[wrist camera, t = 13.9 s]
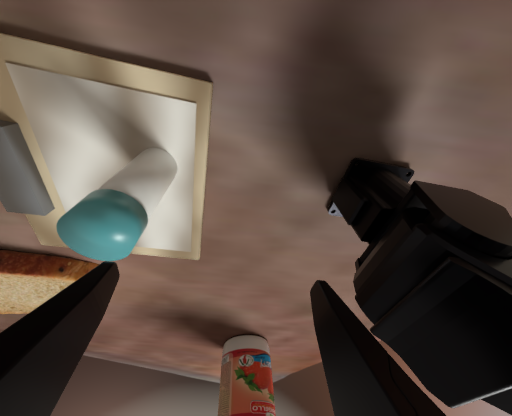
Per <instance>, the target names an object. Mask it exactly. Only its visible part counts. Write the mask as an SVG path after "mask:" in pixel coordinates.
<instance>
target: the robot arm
mask: <svg viewBox="0 0 512 416" xmlns="http://www.w3.org/2000/svg"><path fill="white" fill-rule="evenodd" d="M357 162H359V163H358V165H355V164H356V163H357ZM407 173H408V174H407ZM413 174H414V170H412V169H410V168H407V167H402V166H397V165H392V164H387V163H382V162H377V161H372V160H367V159H362V158H355V159H353V160H352V162H351V164H350V166H349V168H348V170H347V172H346V174H345V176H344V178H343V179H342V180H341V182H340V184H339V186H338V188H337V190H336V192H335V194H334V196H333V198H332V202H331V204H330V206H329V208H328V213H329V214H330V215H334V216H341V217H344V219H345V221H346V222H347V224H348V225H351V226H352V228H353V229H354V231H355V232H356V234H357V235H358V237H359V238H360V240H361V241H364V242H367V243H368V244H369V246H368V247H367V249H366V250H365V251H364V253H363V254H362V256H361V257H360V258H358V259H357V260H356V262H355V266H356V273H355V275H354V281H353V283H354V287H355V292H356V295H355V299H356V301H357V303H358V305H359V307H360V308H361V310H362V311H363V312H364V313H365V315H366V316H367V317H368V319H369V320H370V321H371V322H372V323H373V324H374V325H373V326H372V327H371V328H370V331H371V333H372V334H373V335H375V336H376V337H378V338H379V339H381V340H382V341H384V342H385V343H386V344H387V345H389V346H390V347H391V348H392V349H393V350H394V351H395V352H396V353H397V354H398V355H399V356H400V357H401V358H402V359H403V360H404V362H405V363H406V364H407V365H408V366H409V367H410V369H411V370H412V371H413V373H414V374H415V375H416V376H417V377H418V379H419V380H420V381H421V383H422V384H423V385H424V386H425V387H426V389H427V390H428V391H429V392H431V393H432V394H433V395H434V396H436V397H437V398H438V399H439V400H441V401H442V402H443V403H444V404H446V405H447V406H448V407H451V408H456V407H459V406H462V405H465V404H468V403H471V402H474V401H477V400H480V399H481V400H483V401H485V402H487V403H489V404H491V405H493V406H495V407H497V408H499V409H501V410H503V411H505V412H507V413H509V414H511V415H512V218H511V216H510V215H509V213H508V211H507V210H506V208H504V207H503V206H501V205H499V204H497V203H494V202H492V201H490V200H488V199H486V198H484V197H482V196H479V195H477V194H475V193H473V192H471V191H468V190H463V189H458V188H453V187H447V186H442V185H437V184H431V183H426V182H421V181H414V182H413V183H412V185H410V184H409V183H408V182H409V180H410V179H411V177H412V176H413ZM332 210H334V211H332ZM118 280H119V271H118V267H117V264H116V263H115V262H109V261H105V262H103V263H101V264H100V265H98V266H97V267H95V268H94V269H92V270H91V271H89V272H88V273H87V274H85V275H84V276H82V277H81V278H79V279H78V280H76V281H75V282H73V283H72V284H71V285H69V286H68V287H66V288H65V289H63V290H62V291H60V292H59V293H57V294H56V295H55V296H53V297H52V298H50V299H49V300H47V301H46V302H44V303H43V304H41V305H40V306H39V307H37V308H36V309H34V310H33V311H31V312H30V313H28V314H27V315H26V316H24V317H23V318H21V319H20V320H18V321H17V322H15V323H14V324H12V325H11V326H10V327H8V328H7V329H5V330H4V331H2V332H1V333H0V416H50V415H51V413H52V411H53V409H54V408H55V406H56V404H57V402H58V400H59V398H60V396H61V394H62V393H63V391H64V389H65V387H66V385H67V383H68V381H69V379H70V378H71V376H72V374H73V372H74V370H75V369H76V366H77V365H78V362H79V361H80V359H81V357H82V355H83V354H84V352H85V350H86V348H87V346H88V344H89V342H90V341H91V339H92V337H93V335H94V333H95V331H96V329H97V328H98V326H99V324H100V322H101V320H102V318H103V316H104V314H105V311H106V309H107V307H108V304H109V302H110V299H111V297H112V294H113V292H114V290H115V287H116V285H117V282H118ZM310 296H311V304H312V312H313V320H314V327H315V332H316V336H317V341H318V345H319V349H320V354H321V358H322V363H323V367H324V371H325V376H326V379H327V384H328V388H329V393H330V398H331V402H332V406H333V411H334V415H335V416H446V415H445V414H444V413H443V412H442V411H441V410H440V409H439V408H438V407H437V406H436V405H435V403H434V402H433V401H432V400H431V399H430V398H429V397H428V396H427V395H426V394H425V393H424V392H423V391H422V390H421V389H420V388H419V387H418V386H417V385H416V384H415V383H414V382H413V381H412V379H411V378H410V377H408V375H407V374H406V373H405V372H404V371H403V370H402V368H401V367H400V366H399V365H398V364H397V363H396V362H395V361H394V359H393V358H392V357H391V356H390V355H389V354H388V353H387V351H386V350H385V349H384V348H383V347H382V346H381V344H379V342H378V341H377V340H376V339H375V338H374V336H373V335H372V334H371V333H370V332H369V331H368V329H367V328H366V327H365V326H364V325H363V324H362V323H361V321H360V320H359V319H358V318H357V317H356V316H355V314H354V313H353V312H352V311H351V310H350V309H349V308H348V306H347V305H346V304H345V303H344V302H343V301H342V299H341V298H340V297H339V296H338V295H337V294H336V293H335V291H334V290H333V289H332V288H331V287H330V286H329V284H328V283H327V282H326V281H322V280H317V281H316V282H315V284H314V285H313V287H312V288H311V291H310Z"/></svg>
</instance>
